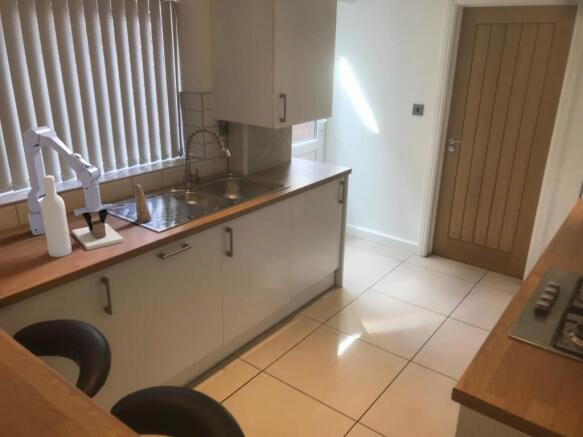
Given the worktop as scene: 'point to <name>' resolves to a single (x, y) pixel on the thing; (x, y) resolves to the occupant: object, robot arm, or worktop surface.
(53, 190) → the bottle
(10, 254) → the worktop surface
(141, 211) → the tan tapered horn
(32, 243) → the worktop surface
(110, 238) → the cutting board
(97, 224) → the walnut block
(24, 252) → the worktop surface
